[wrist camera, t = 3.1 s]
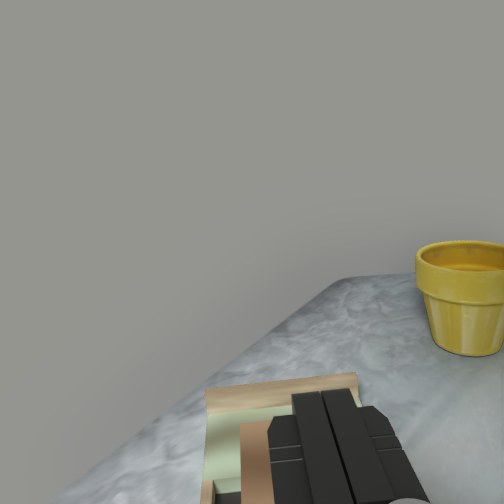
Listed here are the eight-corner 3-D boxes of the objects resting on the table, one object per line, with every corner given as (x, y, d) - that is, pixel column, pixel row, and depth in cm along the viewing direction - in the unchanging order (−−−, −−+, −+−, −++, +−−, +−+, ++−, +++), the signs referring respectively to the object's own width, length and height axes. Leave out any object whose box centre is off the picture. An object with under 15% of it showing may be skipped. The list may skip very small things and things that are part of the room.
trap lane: (469, 679, 21) (472, 627, 20) (189, 712, 21) (177, 661, 20) (356, 406, 40) (355, 372, 39) (210, 422, 40) (204, 389, 39)
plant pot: (463, 310, 55) (466, 233, 52) (546, 347, 45) (556, 255, 42) (394, 334, 51) (394, 252, 48) (470, 379, 42) (475, 281, 39)
